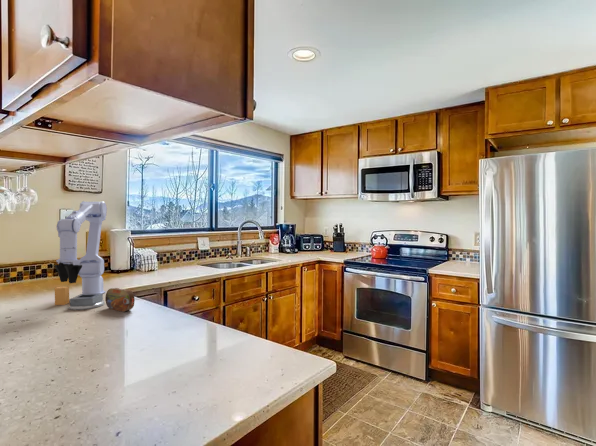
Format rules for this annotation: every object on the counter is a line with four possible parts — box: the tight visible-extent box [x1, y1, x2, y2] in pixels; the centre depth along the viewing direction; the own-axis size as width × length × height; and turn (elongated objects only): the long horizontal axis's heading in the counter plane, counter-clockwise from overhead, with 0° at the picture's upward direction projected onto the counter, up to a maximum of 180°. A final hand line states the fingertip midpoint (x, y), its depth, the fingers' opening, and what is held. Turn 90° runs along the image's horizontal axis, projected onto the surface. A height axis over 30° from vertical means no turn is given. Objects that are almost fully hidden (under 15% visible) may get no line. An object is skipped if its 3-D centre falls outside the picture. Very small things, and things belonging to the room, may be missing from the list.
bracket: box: [68, 293, 105, 311], centre depth 138 cm, size 12×12×4 cm
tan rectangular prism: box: [54, 286, 70, 306], centre depth 141 cm, size 3×4×7 cm
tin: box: [104, 287, 136, 313], centre depth 132 cm, size 15×3×8 cm, turn 62°
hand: (68, 282), depth 135 cm, fingers open, 7 cm apart
